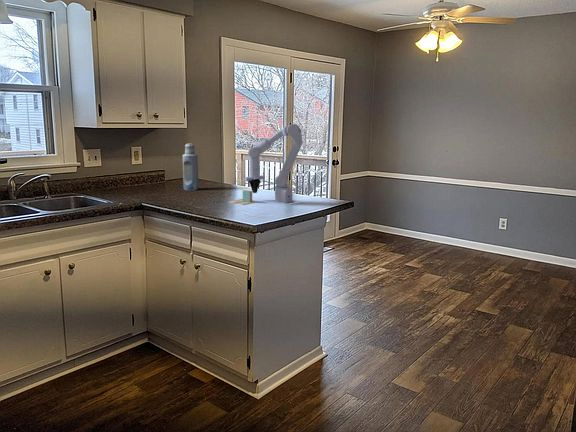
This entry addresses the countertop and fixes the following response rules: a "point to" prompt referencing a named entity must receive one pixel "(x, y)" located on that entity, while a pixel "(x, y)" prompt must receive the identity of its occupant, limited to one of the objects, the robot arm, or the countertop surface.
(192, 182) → the bottle
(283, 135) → the robot arm
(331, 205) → the countertop surface
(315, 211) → the countertop surface
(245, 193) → the tile
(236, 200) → the board
